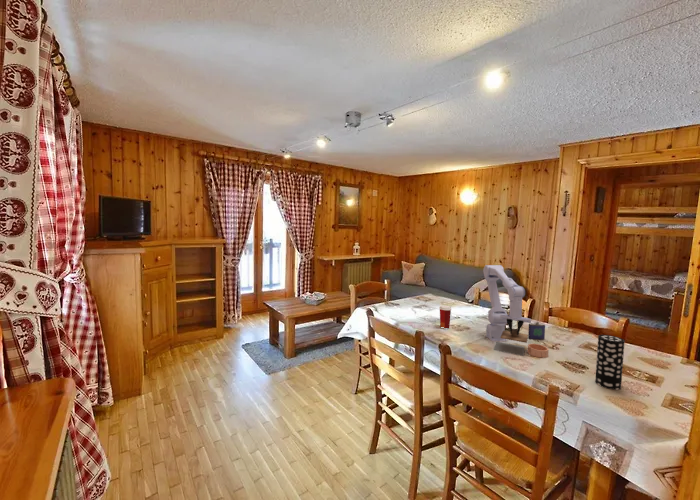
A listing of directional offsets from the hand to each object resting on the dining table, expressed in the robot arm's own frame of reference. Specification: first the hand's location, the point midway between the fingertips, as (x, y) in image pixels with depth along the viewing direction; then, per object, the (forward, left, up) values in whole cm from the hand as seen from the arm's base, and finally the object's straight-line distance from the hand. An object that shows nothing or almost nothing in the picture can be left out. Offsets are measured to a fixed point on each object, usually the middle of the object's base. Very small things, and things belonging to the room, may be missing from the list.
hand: (514, 333), depth 162 cm
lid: (0, 0, -2) cm, 2 cm away
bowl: (+9, -6, -9) cm, 14 cm away
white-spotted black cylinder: (+20, -36, -9) cm, 42 cm away
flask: (+22, +16, -9) cm, 29 cm away
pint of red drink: (-26, +36, -9) cm, 45 cm away
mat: (-2, +1, -9) cm, 9 cm away
